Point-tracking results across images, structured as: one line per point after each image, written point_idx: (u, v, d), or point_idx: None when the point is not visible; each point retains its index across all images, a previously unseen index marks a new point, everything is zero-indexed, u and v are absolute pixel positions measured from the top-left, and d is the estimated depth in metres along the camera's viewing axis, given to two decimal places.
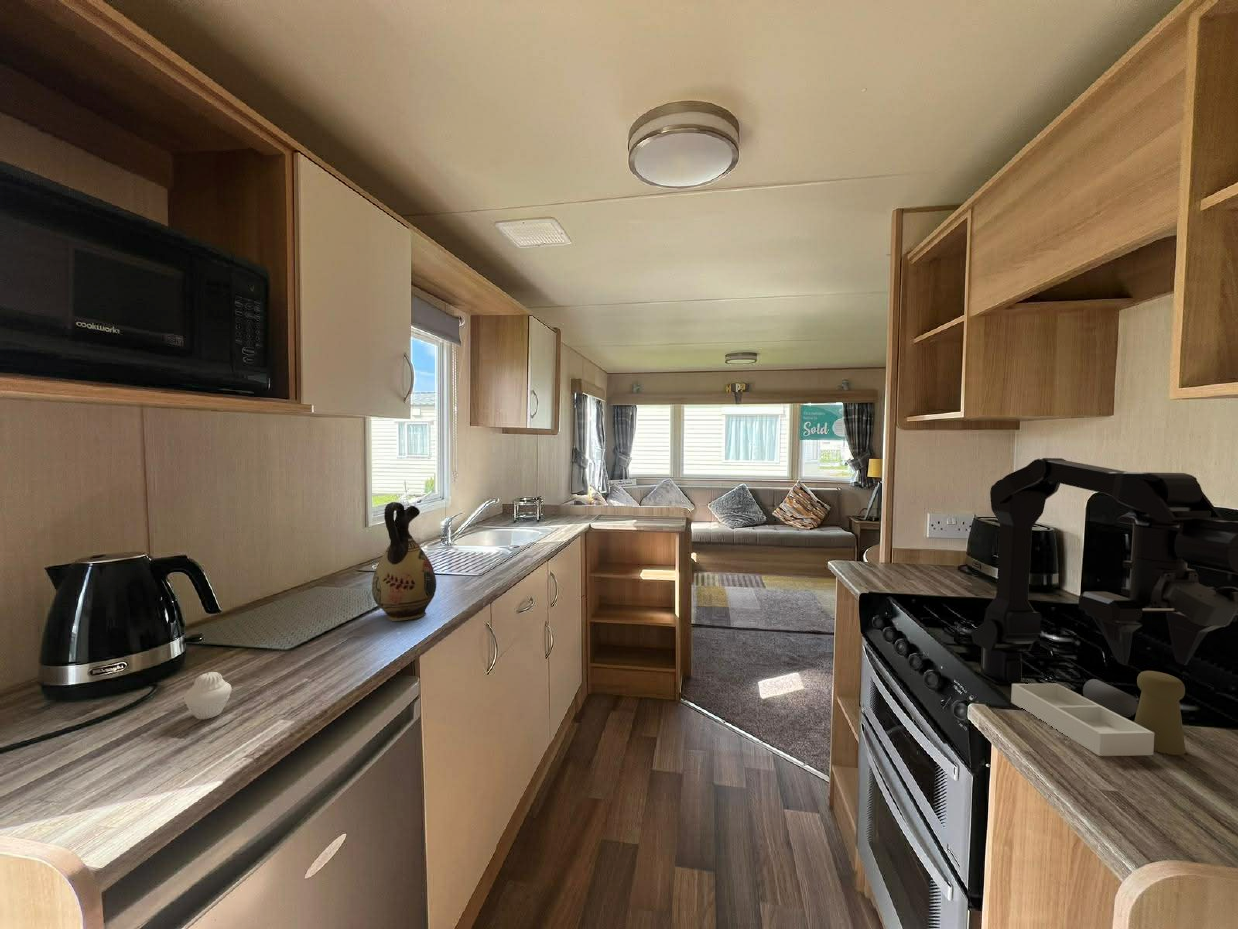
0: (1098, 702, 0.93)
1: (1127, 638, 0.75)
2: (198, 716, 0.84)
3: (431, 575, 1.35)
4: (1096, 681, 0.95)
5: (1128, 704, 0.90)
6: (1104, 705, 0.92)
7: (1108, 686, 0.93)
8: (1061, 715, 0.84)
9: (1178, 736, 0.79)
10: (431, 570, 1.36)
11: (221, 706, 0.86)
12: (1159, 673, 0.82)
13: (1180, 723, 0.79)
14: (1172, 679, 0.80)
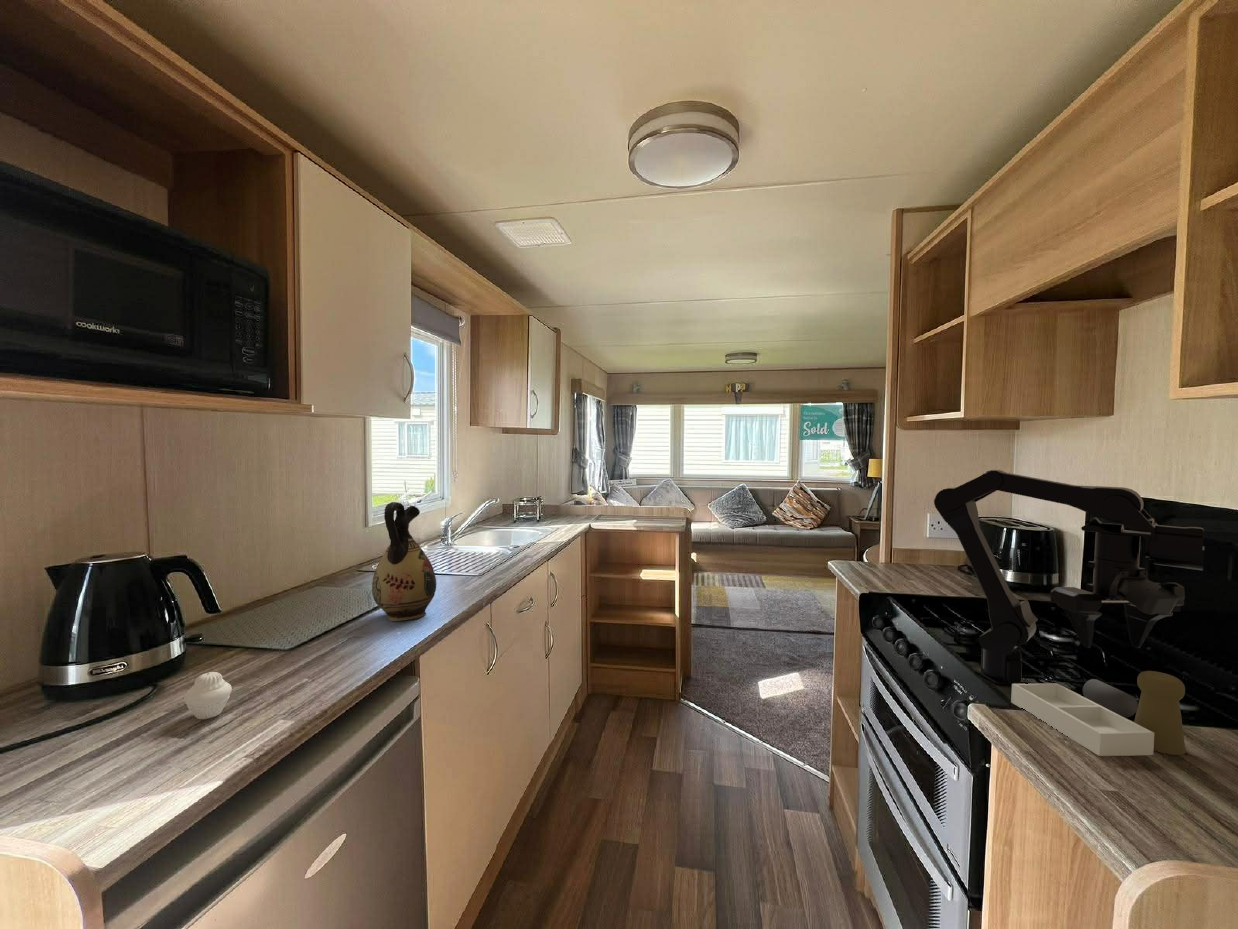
0: (1098, 702, 0.93)
1: (1090, 625, 0.91)
2: (198, 716, 0.84)
3: (431, 575, 1.35)
4: (1096, 681, 0.95)
5: (1128, 704, 0.90)
6: (1104, 705, 0.92)
7: (1108, 686, 0.93)
8: (1061, 715, 0.84)
9: (1178, 736, 0.79)
10: (431, 570, 1.36)
11: (221, 706, 0.86)
12: (1159, 673, 0.82)
13: (1180, 723, 0.79)
14: (1172, 679, 0.80)
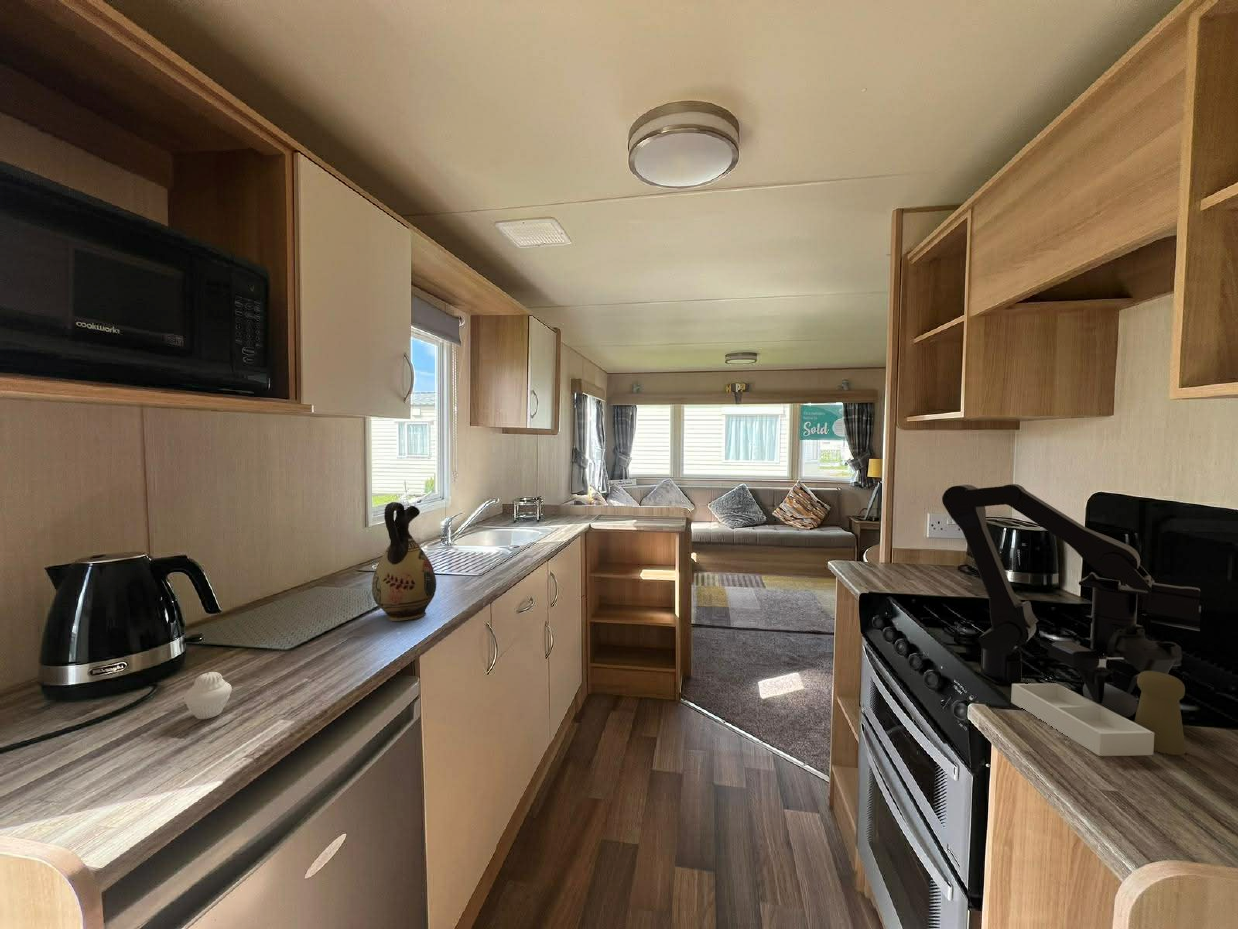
0: None
1: (1101, 682, 0.91)
2: (198, 716, 0.84)
3: (431, 575, 1.35)
4: None
5: (1128, 703, 0.90)
6: (1104, 705, 0.92)
7: (1108, 685, 0.93)
8: (1061, 715, 0.84)
9: (1178, 736, 0.79)
10: (431, 570, 1.36)
11: (221, 706, 0.86)
12: (1159, 673, 0.82)
13: (1180, 723, 0.79)
14: (1172, 679, 0.80)
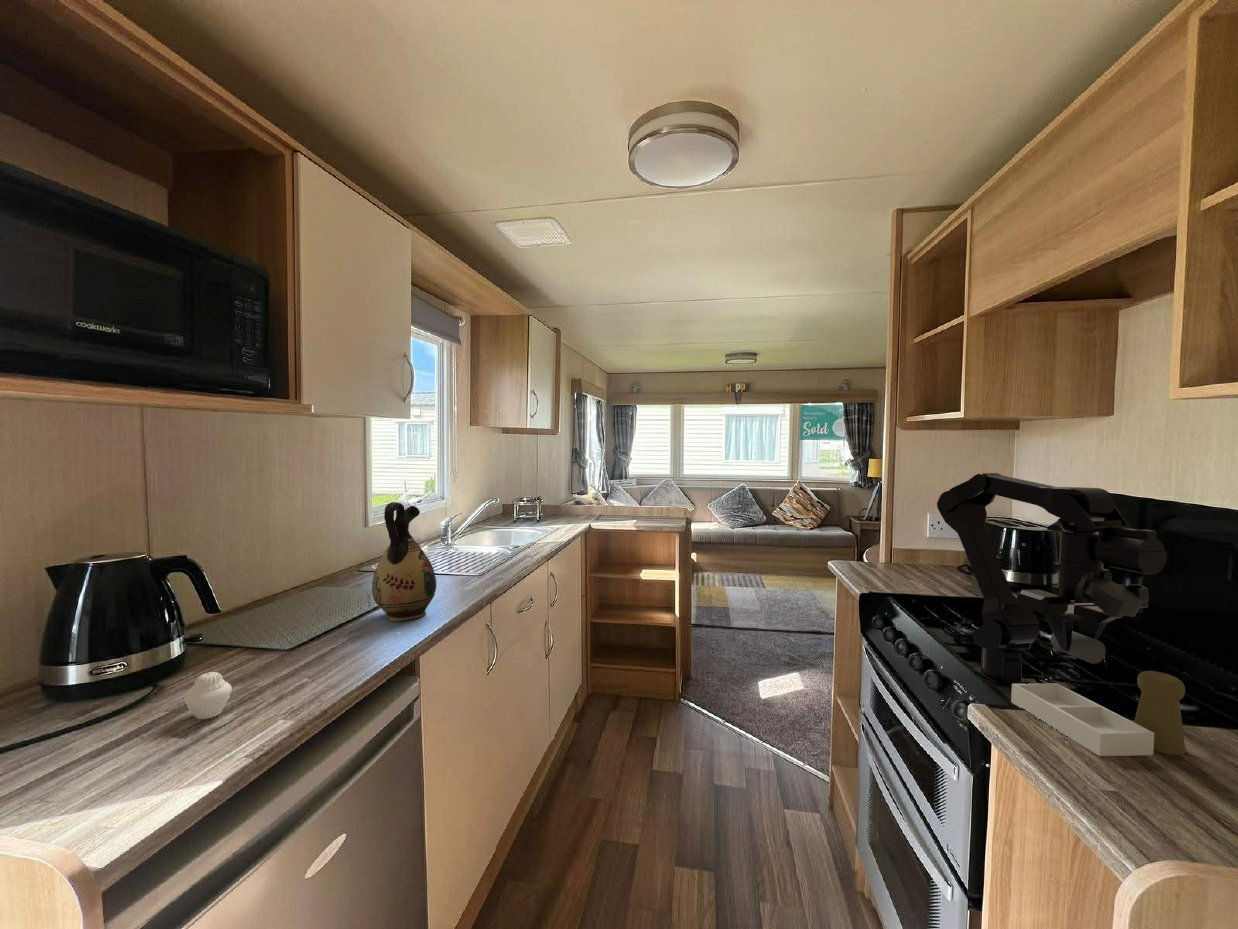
0: None
1: (1069, 628, 0.89)
2: (198, 716, 0.84)
3: (431, 575, 1.35)
4: None
5: (1096, 650, 0.88)
6: (1072, 652, 0.90)
7: (1076, 633, 0.91)
8: (1061, 715, 0.84)
9: (1178, 736, 0.79)
10: (431, 570, 1.36)
11: (221, 706, 0.86)
12: (1159, 673, 0.82)
13: (1180, 723, 0.79)
14: (1172, 679, 0.80)
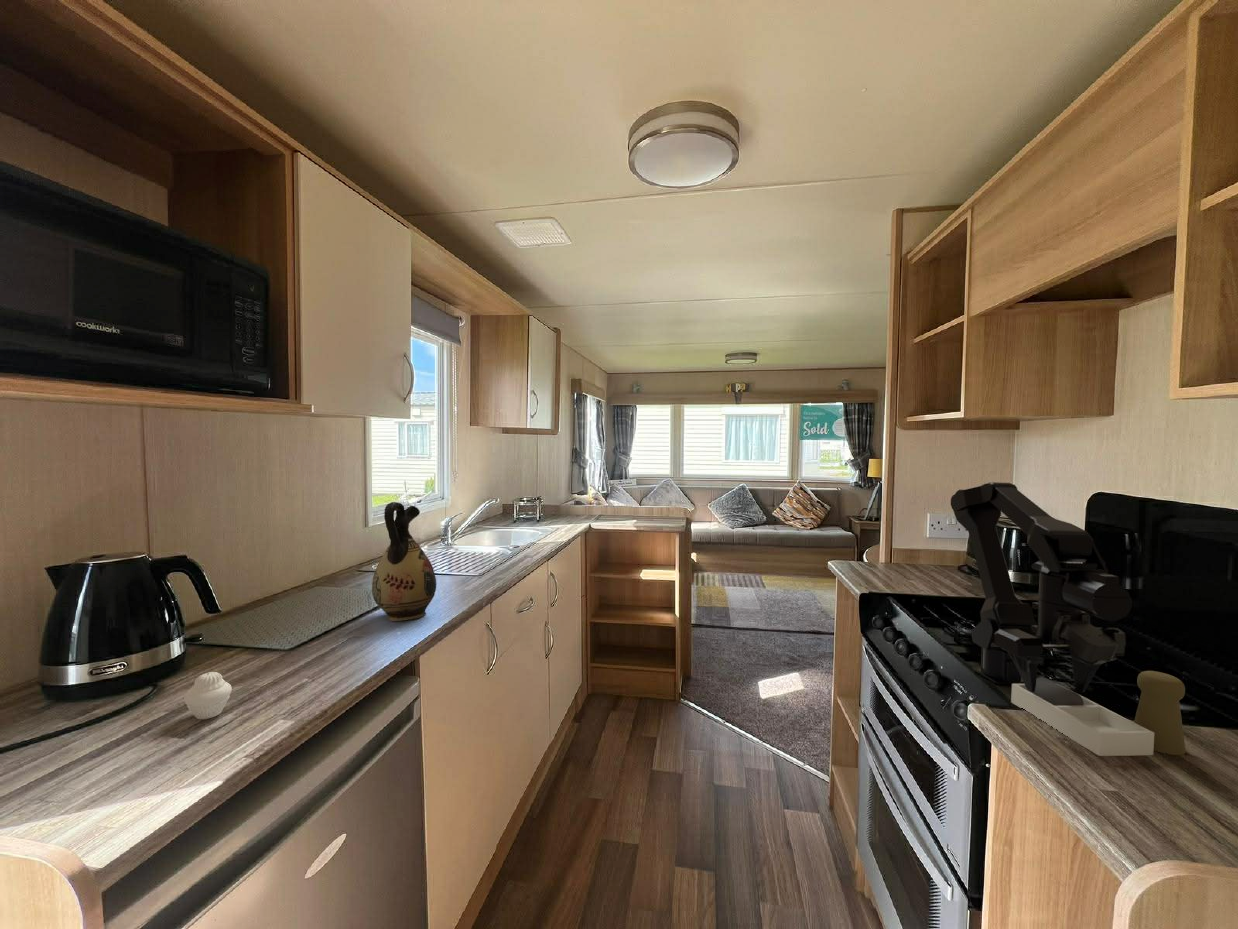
0: None
1: (1033, 670, 0.89)
2: (198, 716, 0.84)
3: (431, 575, 1.35)
4: (1043, 679, 0.92)
5: (1074, 702, 0.87)
6: None
7: (1055, 684, 0.90)
8: (1061, 715, 0.84)
9: (1178, 736, 0.79)
10: (431, 570, 1.36)
11: (221, 706, 0.86)
12: (1159, 673, 0.82)
13: (1180, 723, 0.79)
14: (1172, 679, 0.80)
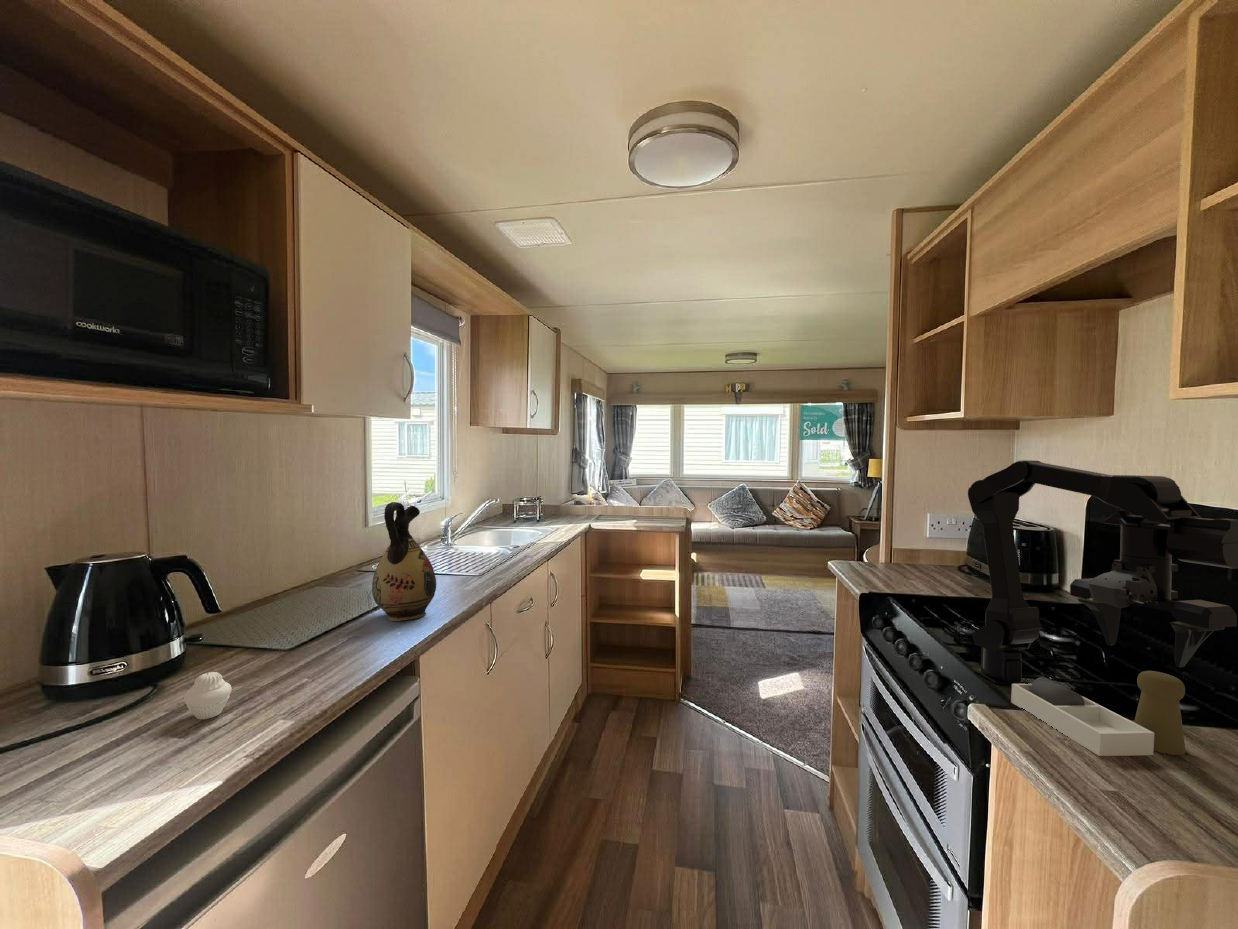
0: (1045, 700, 0.90)
1: (1100, 618, 0.87)
2: (198, 716, 0.84)
3: (431, 575, 1.35)
4: (1045, 679, 0.92)
5: (1075, 703, 0.87)
6: (1051, 703, 0.89)
7: (1056, 684, 0.90)
8: (1061, 715, 0.84)
9: (1178, 736, 0.79)
10: (431, 570, 1.36)
11: (221, 706, 0.86)
12: (1159, 673, 0.82)
13: (1180, 723, 0.79)
14: (1172, 679, 0.80)
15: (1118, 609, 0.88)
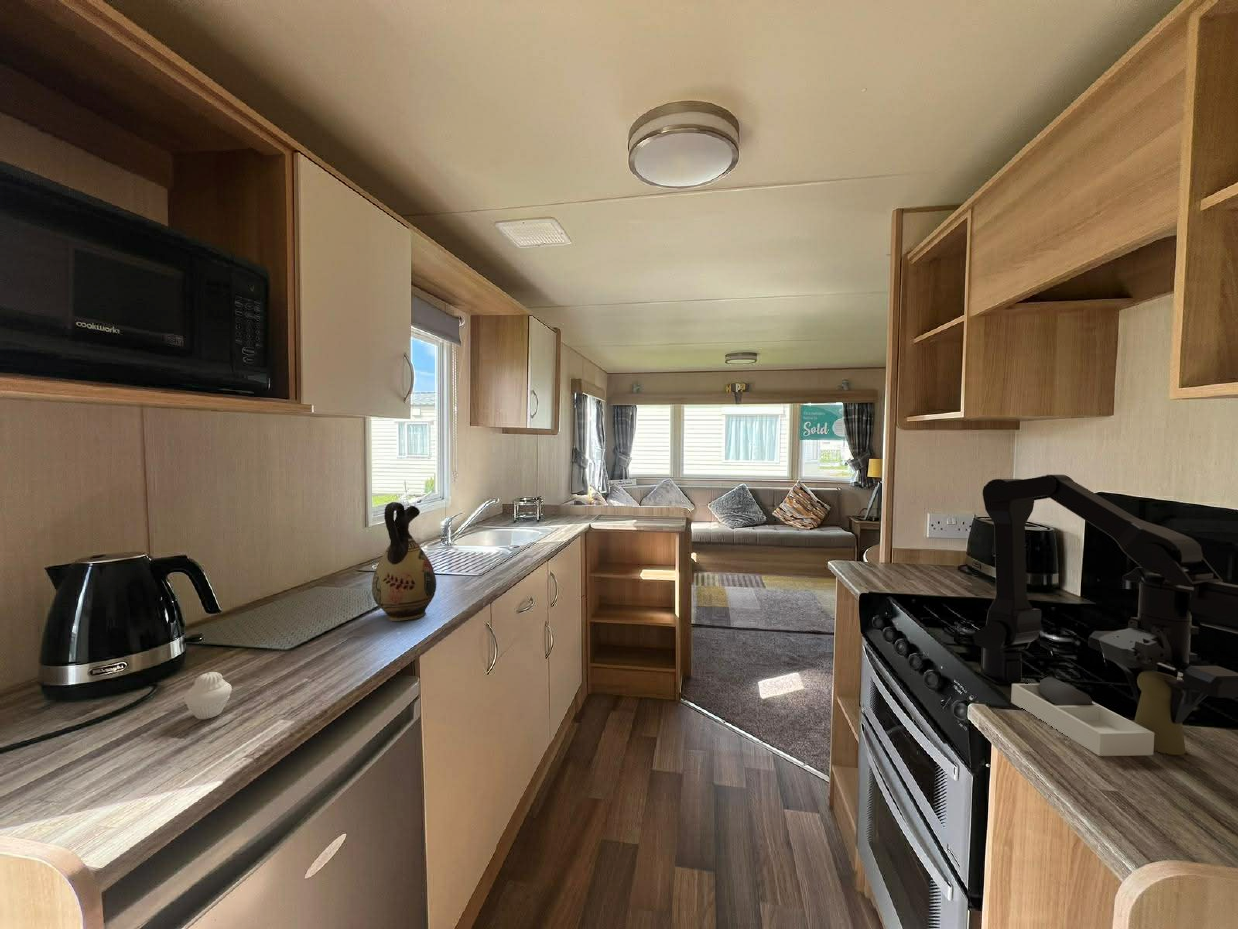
0: (1052, 692, 0.90)
1: (1131, 679, 0.84)
2: (198, 716, 0.84)
3: (431, 575, 1.35)
4: None
5: (1083, 704, 0.87)
6: (1058, 695, 0.89)
7: None
8: (1061, 715, 0.84)
9: (1178, 736, 0.79)
10: (431, 570, 1.36)
11: (221, 706, 0.86)
12: (1159, 673, 0.82)
13: None
14: (1172, 679, 0.80)
15: None
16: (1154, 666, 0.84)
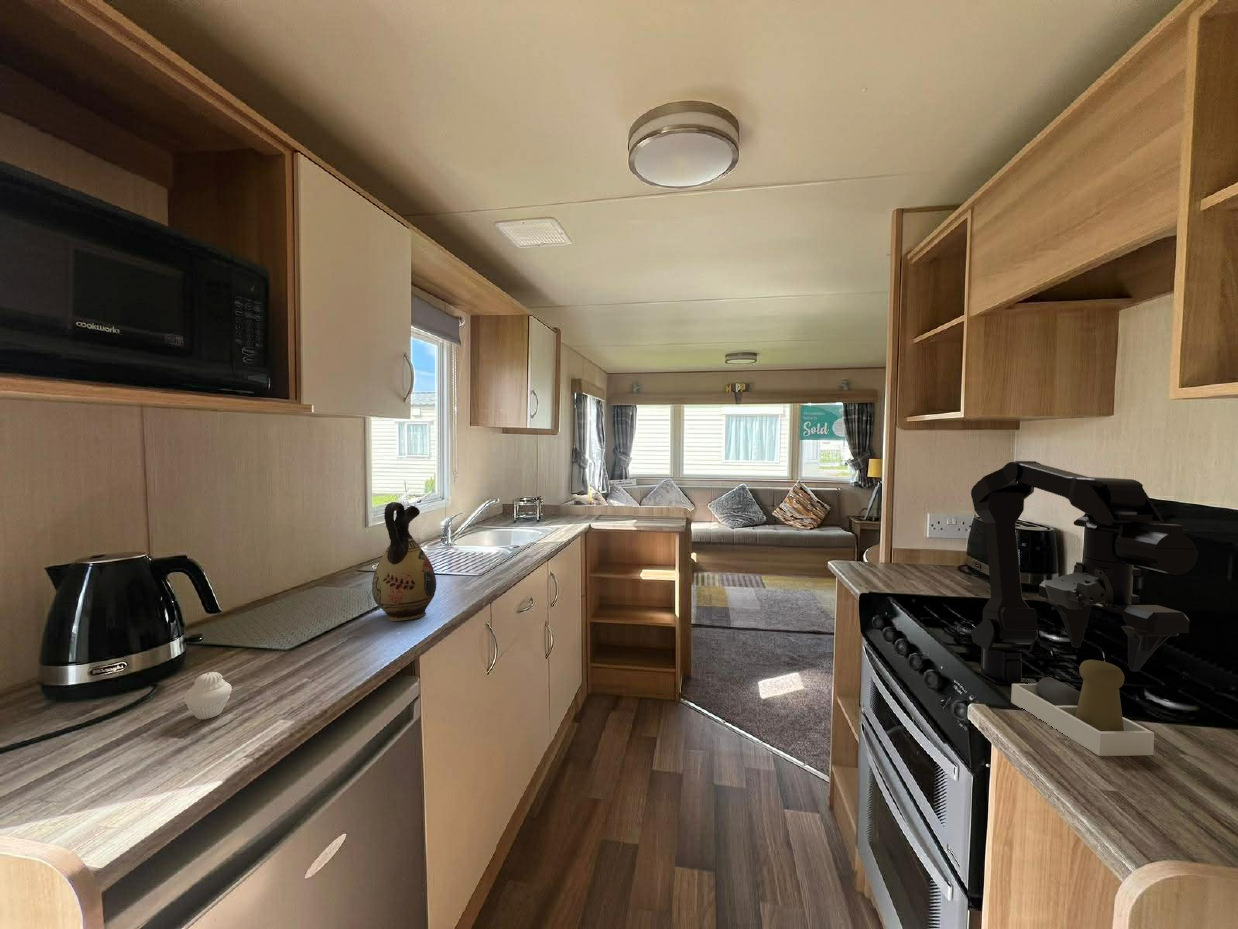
0: (1050, 694, 0.90)
1: (1066, 620, 0.87)
2: (198, 716, 0.84)
3: (431, 575, 1.35)
4: (1056, 680, 0.92)
5: None
6: (1056, 697, 0.89)
7: None
8: (1061, 715, 0.84)
9: (1116, 724, 0.80)
10: (431, 570, 1.36)
11: (221, 706, 0.86)
12: (1100, 662, 0.83)
13: (1119, 711, 0.80)
14: (1111, 667, 0.81)
15: (1086, 612, 0.87)
16: (1087, 607, 0.87)
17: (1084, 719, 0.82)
